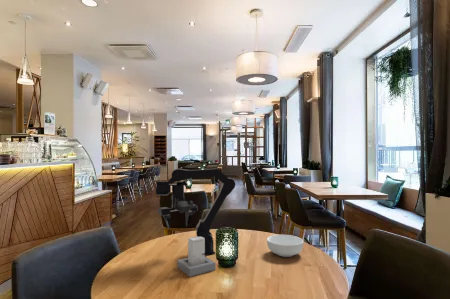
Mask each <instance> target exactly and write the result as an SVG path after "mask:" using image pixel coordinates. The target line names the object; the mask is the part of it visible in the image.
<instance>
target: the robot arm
mask: <svg viewBox="0 0 450 299" xmlns="http://www.w3.org/2000/svg"><path fill="white" fill-rule="evenodd" d="M211 177H215V178H216V179H217V180H219V181H220V183H221V185H220V187H219V188H220V189H219V192H218V194H217V196H216V198H215V200H214V201H213V203H212V205H211V206H210V207H209V210H208V212H207V214H206V215H205V217H204V218H203V219H201V218H200V219H199V221H198V223H197V225H195V232H196V237H198V236H201V237H203V238H205V257H207V256H210V255H215V254H216V252H215V251H214V238H213V234H212V232H210V230H211V227H212V223H213V222H214V219H215V218H216V217H217V214H218V213H219V211H220V209H221V207H222V206H223V203H224V202H225V200H226V199H227V197H228V196H229V195H230V194H231V193H232V191H233V190H234V189H235V187H236V182H235V180H234V179H233V178H232V177H227V176H226V175H225V174H224V173H223V172H222V171H221V170H220V169H219V168H217V167H214V168H206V169H183V168H175V169H174V170H173V171H172V172H171V178H169V179H168V181H166V180H165V181H163V180H162V181H160V180H157V181H156V186H155V187H156V188H155V195H156V196H169V194H171V197H170V199H171V205H170V206H171V207H170V208H169V207H168V206H167V207H166V206H164V207H158V209H157V214H158V215H159V216H162V218H163V219H164V221H165V223H166V227H167V229H169V230H170V229H171V213H177V212H179V213H180V214H183V213H185V226H186V227H188V226H189V223H190V221H191V218H192V216H193V215H194V214H196V212H198V211H199V207H198V205H197V204H195V203H194V201H193V200H187V199H186V196H185V186H188V184H189V183H187V181H186V180H189V179H194V178H211ZM175 182H176V183H175ZM186 200H187V201H186Z"/></svg>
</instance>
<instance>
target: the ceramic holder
mask: <svg viewBox="0 0 450 299" xmlns="http://www.w3.org/2000/svg"><path fill="white" fill-rule="evenodd" d="M176 262H177V263H176V264H177V265H176V266H177V268H178V269H179V270H181V272H183V273H184V274H186V275H187V276H188V277H189V278H190V277H194V276H198V275H201V274H205V273H209V272H212V271H216V266H217V265H216V262H215V261H214V260H212V259H210V258H208V257H207V256H205V263H204V264H199V265H195V266H191V265H189V264H188V257H185V258H181V259H177V261H176Z"/></svg>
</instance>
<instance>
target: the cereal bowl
mask: <svg viewBox="0 0 450 299" xmlns="http://www.w3.org/2000/svg"><path fill="white" fill-rule="evenodd" d="M266 240H267V241H266V243H267V247H268V249H269V251H271V252H272V253H274V254H276V255H278V256H279V257H283V258H291V257H293V256H295V255H299V254H300V253H301V252H302V250H303V249H304V240H303V238H301V237H299V236H296V235H292V234H274V235H270V236H268V237H267V239H266Z"/></svg>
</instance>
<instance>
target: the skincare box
mask: <svg viewBox="0 0 450 299" xmlns="http://www.w3.org/2000/svg"><path fill="white" fill-rule="evenodd" d="M187 239H188V241H187V242H188V243H187V258H188V264H189V265H191V266H195V265H199V264H204V263H205V257H206V256H205V238H203V237H201V236H198V237H197V236H193V237H188V238H187Z"/></svg>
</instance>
